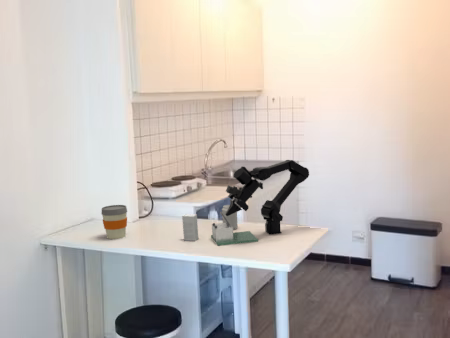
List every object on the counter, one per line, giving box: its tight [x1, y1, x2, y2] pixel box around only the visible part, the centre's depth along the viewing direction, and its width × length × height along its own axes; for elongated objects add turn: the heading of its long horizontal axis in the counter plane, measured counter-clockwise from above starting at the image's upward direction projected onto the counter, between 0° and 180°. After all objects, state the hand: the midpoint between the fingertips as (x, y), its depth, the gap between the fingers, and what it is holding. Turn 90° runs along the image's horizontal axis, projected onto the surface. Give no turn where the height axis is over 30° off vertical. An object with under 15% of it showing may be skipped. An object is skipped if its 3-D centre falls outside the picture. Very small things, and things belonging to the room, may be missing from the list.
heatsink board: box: [211, 222, 259, 246], centre depth 244 cm, size 19×16×8 cm
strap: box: [219, 211, 230, 225], centre depth 242 cm, size 7×4×1 cm
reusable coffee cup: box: [101, 204, 128, 240], centre depth 259 cm, size 13×13×15 cm
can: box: [221, 204, 239, 231], centre depth 264 cm, size 8×8×12 cm
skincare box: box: [181, 213, 199, 242], centre depth 247 cm, size 6×4×12 cm
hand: (226, 215), depth 242 cm, fingers closed
